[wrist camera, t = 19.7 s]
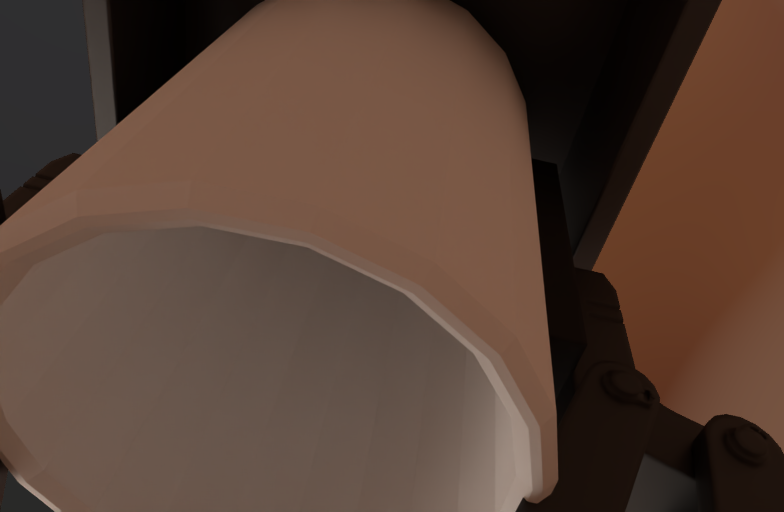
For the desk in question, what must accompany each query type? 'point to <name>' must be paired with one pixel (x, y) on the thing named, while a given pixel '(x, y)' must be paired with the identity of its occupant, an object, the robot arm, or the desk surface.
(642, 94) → the basket
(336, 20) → the mug
